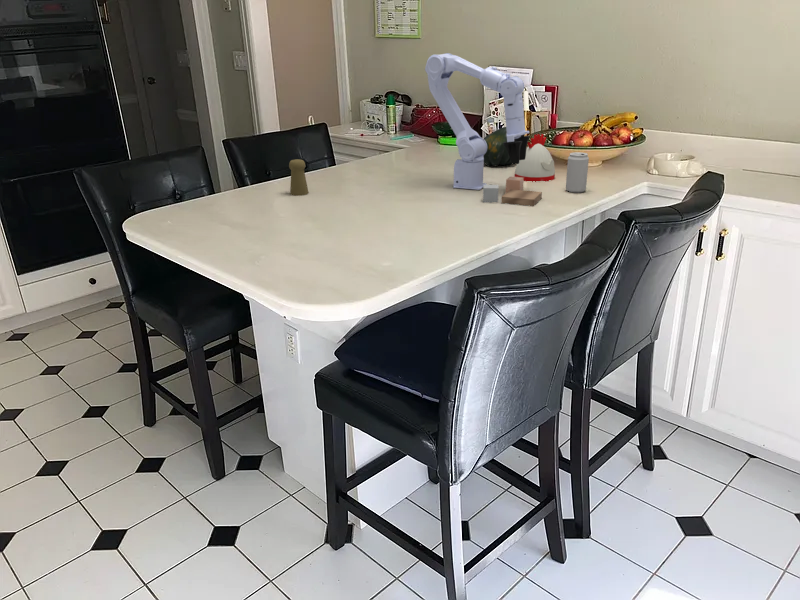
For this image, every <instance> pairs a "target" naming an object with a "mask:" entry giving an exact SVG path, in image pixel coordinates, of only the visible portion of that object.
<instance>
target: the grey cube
mask: <svg viewBox="0 0 800 600" xmlns="http://www.w3.org/2000/svg"><path fill="white" fill-rule="evenodd" d="M492 202H499V184H487V185H484V187H483V188H482V203H492Z"/></svg>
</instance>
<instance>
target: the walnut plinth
mask: <svg viewBox="0 0 800 600" xmlns="http://www.w3.org/2000/svg"><path fill="white" fill-rule="evenodd" d="M542 195H543V192H542V191H535V190H524V189H523V190H513V189H510V190H509V191H508V192H507V193H506V192H504V194H503V195H501V200H500V203H501V204H505V203H509V204H508V205H515V204H519V205H518V206H526V205H530V206H529V207H535V206H534V205H537V204H538V202H539V201H540V200H542Z"/></svg>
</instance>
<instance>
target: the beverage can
mask: <svg viewBox="0 0 800 600" xmlns="http://www.w3.org/2000/svg"><path fill="white" fill-rule="evenodd" d="M589 160H590V158H589V154H588V153H586V152H581V151H580V152H579V151H576V152H570V153H569V156H567V168H566V179H565V190H566V191H567V192H568V191H569V192H568V193H572V192H573V193H572V194H576V193H577V194H579V193H584V192H585V191H586V190H587V184H588V183H587V182H588V173H589V171H588V170H589V163H590V161H589Z"/></svg>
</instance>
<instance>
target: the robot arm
mask: <svg viewBox="0 0 800 600" xmlns="http://www.w3.org/2000/svg"><path fill="white" fill-rule="evenodd" d="M424 71H425V72H426V74H427V82H428V88H429V92H430V93H431V95H432V97H433V99H434V100H435V102H436V104H437V106H438V107H439V109H440V112H442V114H443V116H444V117H445V119H446V121H447V122H448V125H449V126H450V128H451V129H452V131H453V133H454V135H455V136H456V138H455V139H456V140H455V144H456V147H457V150H458V156H459V157H460V159H456V160H455V161H454V165H453V186H452V188H453V189H463V190H464V189H466V190H475V191H479V190H483V187H484V185H488V184H487V183H485V182H484V166H485V163H484V154H485V153H486V151H487V143H486V141H485V140H484V138H483V137H481V135H480V134H479V133H478V132H477V131H476V130H474V129H473V128H472V127H471V126H470V124H469V122H468V121H467V119H466V117H465V115H464V114H463V111H462V110H461V108H460V106H459V105H458V103H457V101H456V100H455V98H454V96H453V94H452V93H451V91H450V89H449V88H448V85H449V81H450V79H451V77H452V75H453V74H454V72H456V71H457V72H459V73H462V74H466V75H467V76H471V77H473V78H474V79H475V78H476V79H479V82H480V84H481V85H482V86H484V87H485V88H488V89H490V90H493V91H495V92H497V93H500V95H501V97H502V98H503V103H504V104H503V106H504V116H505V117H504V119H505V127H506V129H507V134H506V136H507V142H503V144H504V146H505V148H506V149H507V151H508V154H509V157H510V160H511V163H512V164H511V165H517V164H519V160H525V157H526V149H527V147H528V142H529V141H530V139H531V138H530V137H531V136H530V135H527V134H530V131H529V130H526V123H525V112H524V102H523V92H524V90H525V83H524V80H523V79H522V78H520V77H519V76H517V75H515V76H514V75H513V76H511V73H509V72H506V73H505V72H503V71H500V70H498V67H497V66H488V67H486V68H483V67H481V66H479V65H477V64H475V63H473V62H470V61H469V60H467V59H465V58H462V57H460V56H459V55H455V54H452V53H450V52H446V53H442V54H440V53H439V54H435V53H434V54H432V55H430V56H429V57H428V59H427V61H426V64H425V68H424Z"/></svg>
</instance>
